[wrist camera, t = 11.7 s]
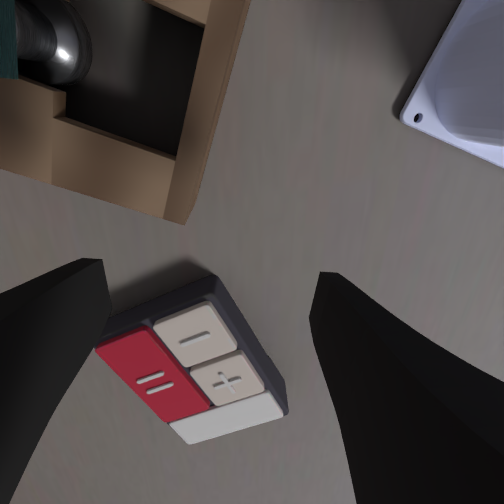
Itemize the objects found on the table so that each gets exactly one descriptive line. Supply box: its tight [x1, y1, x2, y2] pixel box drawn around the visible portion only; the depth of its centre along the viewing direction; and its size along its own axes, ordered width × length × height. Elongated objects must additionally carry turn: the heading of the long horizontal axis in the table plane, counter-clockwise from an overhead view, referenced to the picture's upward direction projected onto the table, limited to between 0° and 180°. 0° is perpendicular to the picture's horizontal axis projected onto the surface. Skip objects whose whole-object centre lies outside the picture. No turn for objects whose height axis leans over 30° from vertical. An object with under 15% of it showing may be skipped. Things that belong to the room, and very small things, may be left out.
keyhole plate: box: [0, 0, 251, 225], centre depth 13 cm, size 14×12×4 cm
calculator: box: [94, 275, 289, 444], centre depth 24 cm, size 11×4×15 cm
